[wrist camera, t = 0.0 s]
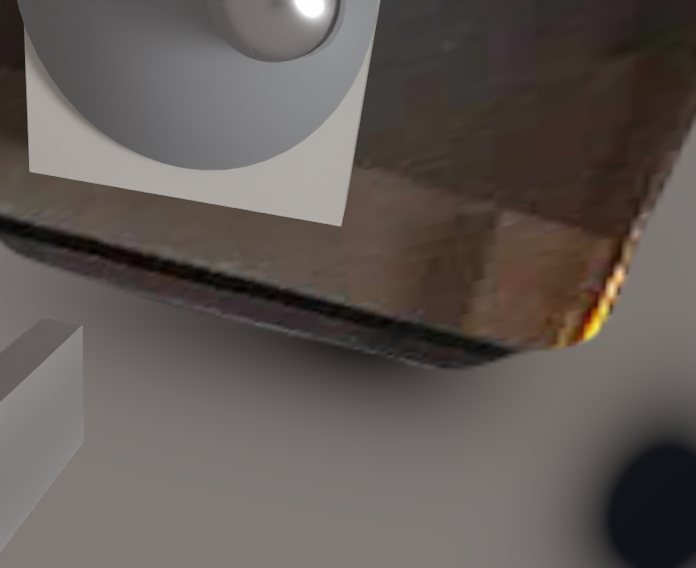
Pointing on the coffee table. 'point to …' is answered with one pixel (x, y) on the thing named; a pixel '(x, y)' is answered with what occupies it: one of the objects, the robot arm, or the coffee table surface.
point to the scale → (193, 106)
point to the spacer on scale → (277, 26)
